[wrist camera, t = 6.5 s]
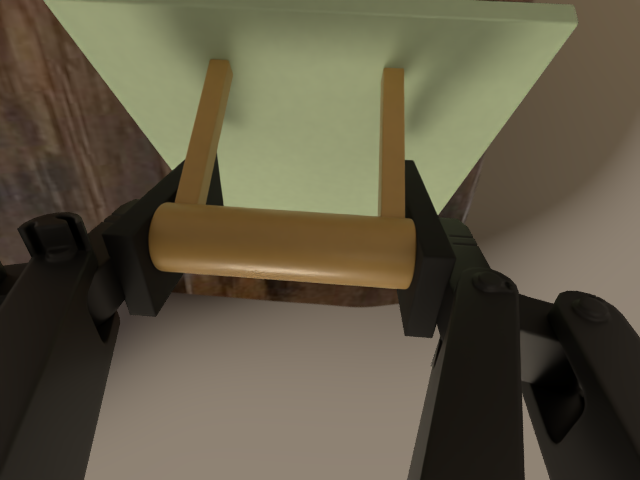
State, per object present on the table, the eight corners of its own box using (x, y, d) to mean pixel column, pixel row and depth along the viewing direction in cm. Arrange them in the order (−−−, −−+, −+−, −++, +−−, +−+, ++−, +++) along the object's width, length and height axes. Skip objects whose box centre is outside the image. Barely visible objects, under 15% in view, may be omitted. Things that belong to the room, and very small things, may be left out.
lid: (50, -20, 11) (-77, 229, 8) (575, 3, 10) (643, 281, 7) (211, 210, 26) (188, 322, 24) (423, 224, 26) (426, 341, 23)
